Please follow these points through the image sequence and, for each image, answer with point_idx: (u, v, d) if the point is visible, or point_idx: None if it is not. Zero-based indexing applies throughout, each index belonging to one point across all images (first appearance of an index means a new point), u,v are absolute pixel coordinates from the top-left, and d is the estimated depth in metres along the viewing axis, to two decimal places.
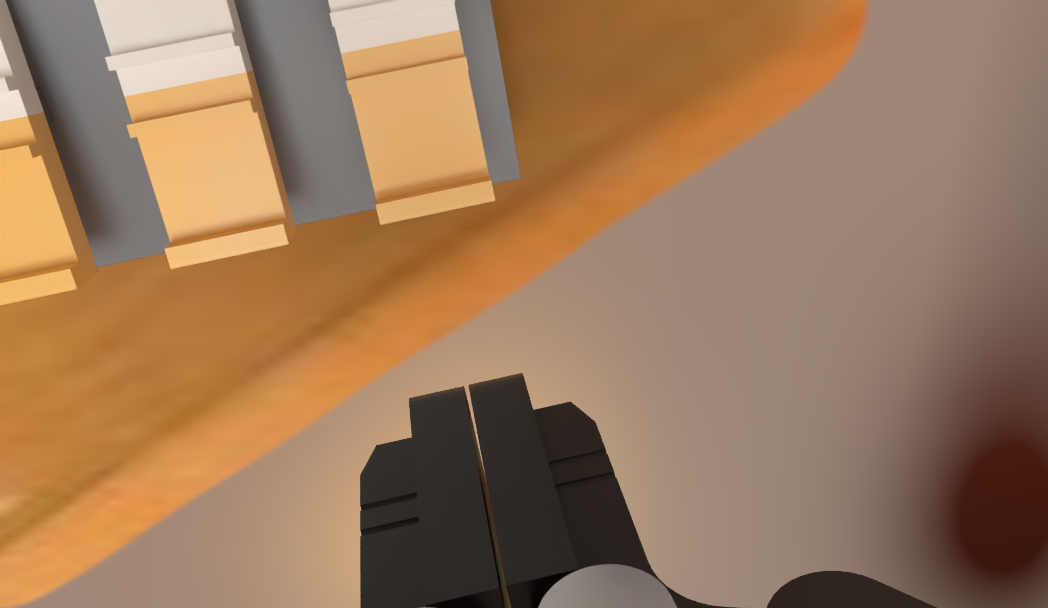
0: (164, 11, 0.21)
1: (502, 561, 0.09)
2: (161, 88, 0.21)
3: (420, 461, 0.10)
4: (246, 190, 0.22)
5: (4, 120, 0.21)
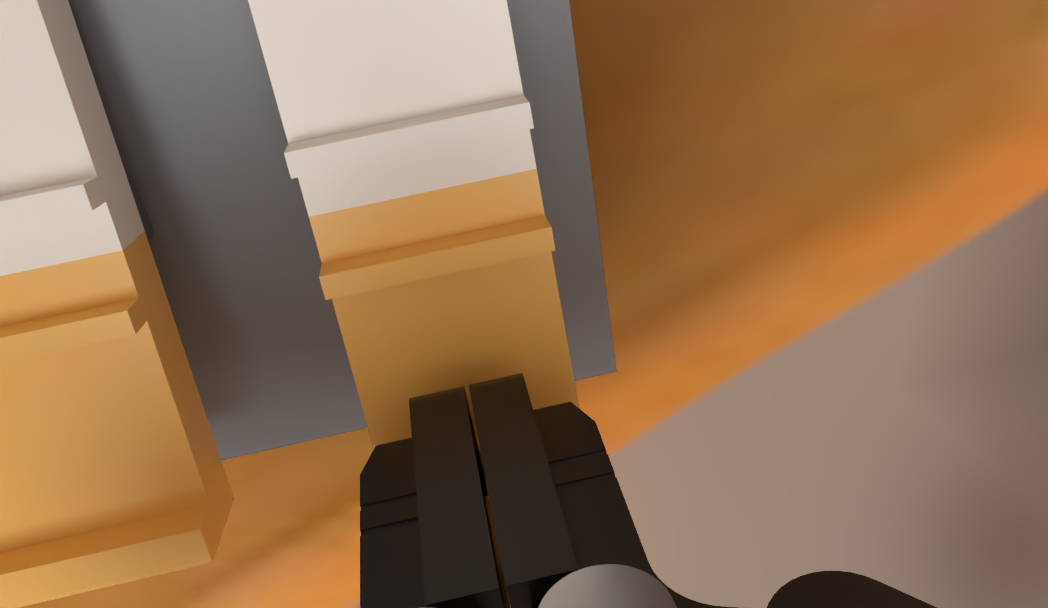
0: None
1: (502, 561, 0.09)
2: None
3: (420, 461, 0.10)
4: (132, 459, 0.12)
5: None
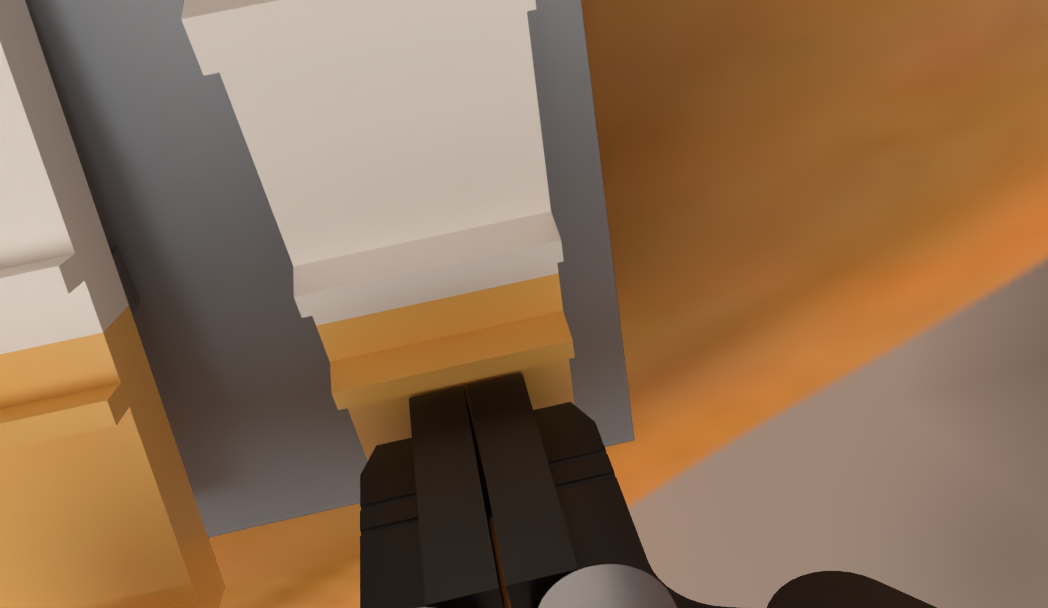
0: None
1: (502, 561, 0.09)
2: None
3: (420, 461, 0.10)
4: (114, 554, 0.11)
5: None
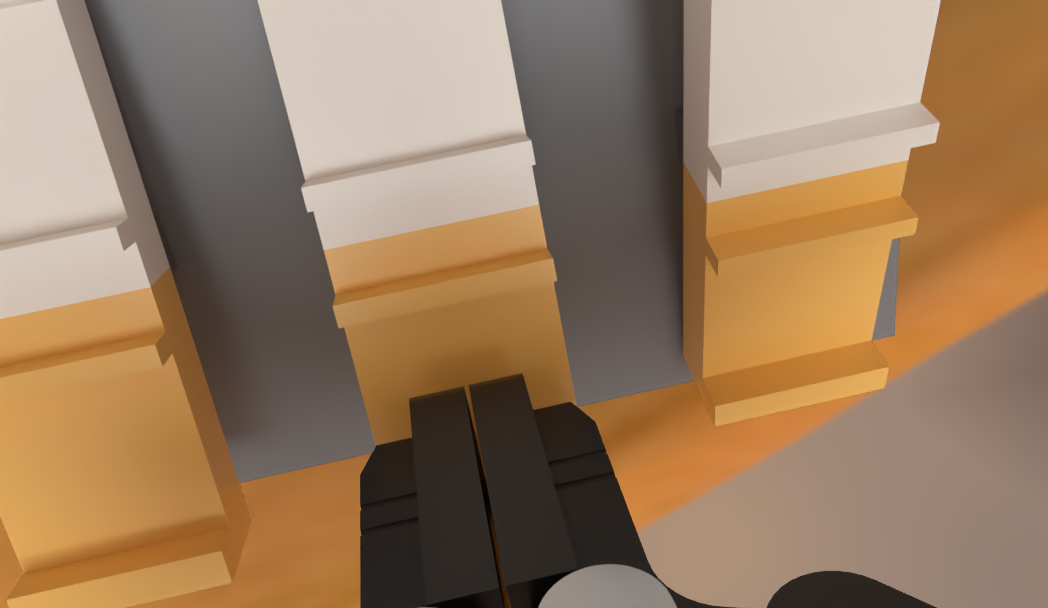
0: (404, 101, 0.11)
1: (502, 561, 0.09)
2: (389, 235, 0.12)
3: (420, 461, 0.10)
4: None
5: (109, 295, 0.12)
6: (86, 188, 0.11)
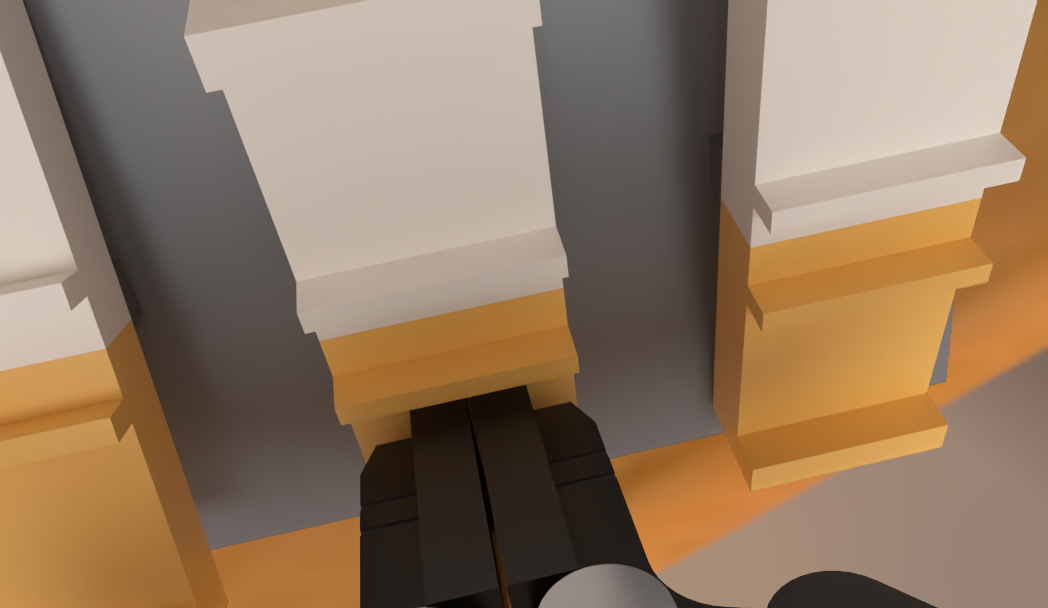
0: (414, 199, 0.09)
1: (502, 561, 0.09)
2: (394, 323, 0.10)
3: (420, 461, 0.10)
4: None
5: (57, 358, 0.10)
6: (28, 235, 0.10)
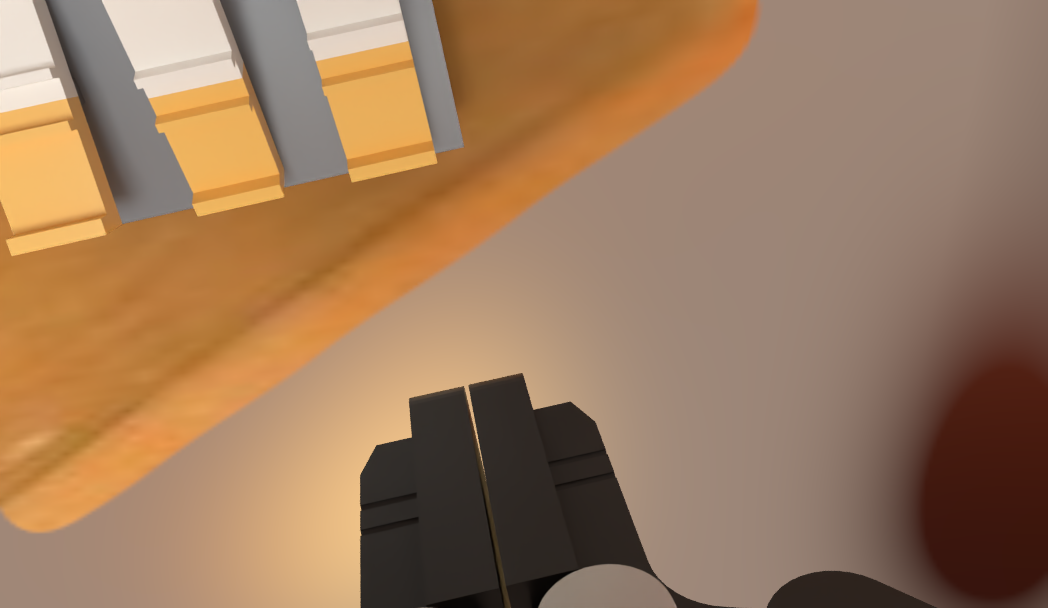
0: (174, 38, 0.26)
1: (502, 561, 0.09)
2: (176, 91, 0.27)
3: (420, 461, 0.10)
4: (248, 157, 0.29)
5: (48, 102, 0.27)
6: (37, 54, 0.27)
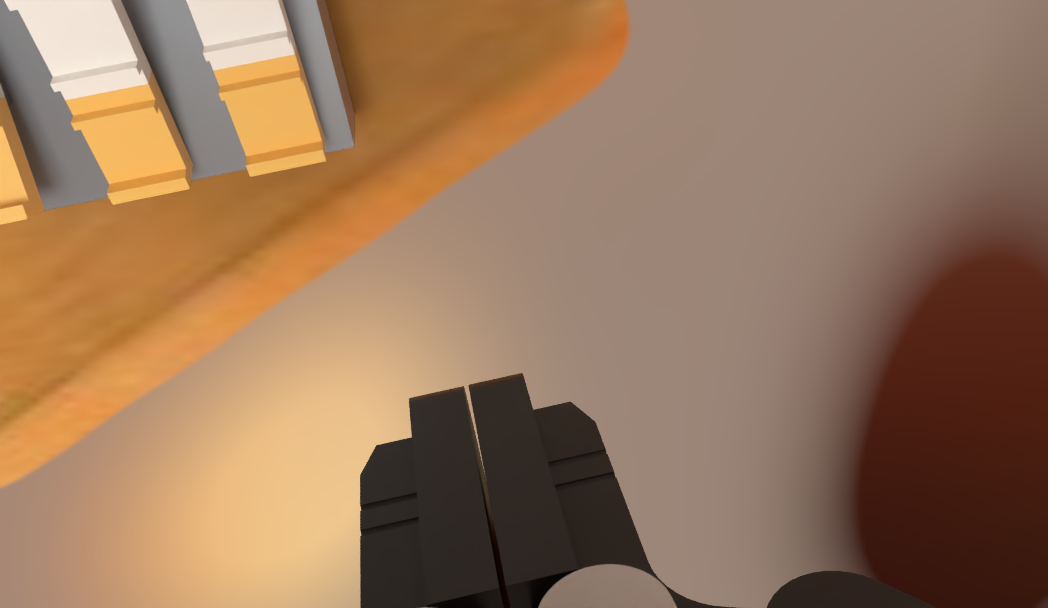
0: (86, 48, 0.30)
1: (502, 561, 0.09)
2: (90, 94, 0.31)
3: (420, 461, 0.10)
4: (156, 152, 0.33)
5: None
6: None
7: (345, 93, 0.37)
